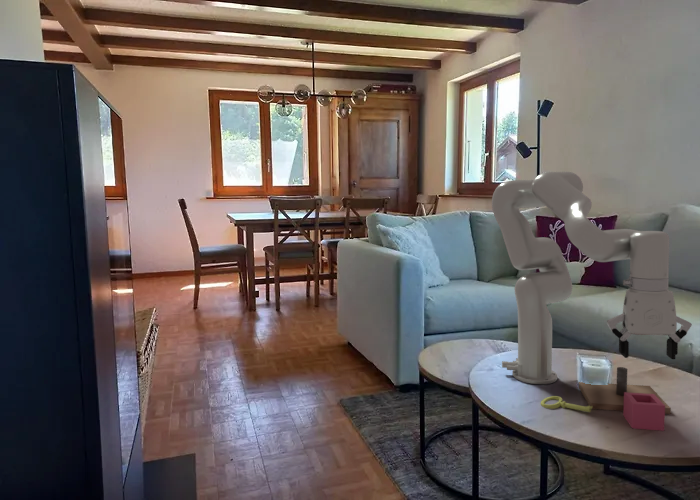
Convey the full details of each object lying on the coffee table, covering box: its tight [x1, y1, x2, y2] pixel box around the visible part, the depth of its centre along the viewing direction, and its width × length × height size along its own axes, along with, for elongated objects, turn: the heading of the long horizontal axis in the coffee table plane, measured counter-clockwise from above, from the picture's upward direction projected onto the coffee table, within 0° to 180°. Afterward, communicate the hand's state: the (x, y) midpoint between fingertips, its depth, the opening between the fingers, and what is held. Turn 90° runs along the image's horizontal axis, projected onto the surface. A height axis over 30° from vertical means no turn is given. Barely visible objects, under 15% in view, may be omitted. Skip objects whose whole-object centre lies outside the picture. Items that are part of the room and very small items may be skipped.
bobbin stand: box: [578, 366, 672, 415], centre depth 126 cm, size 18×14×8 cm
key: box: [540, 395, 593, 413], centre depth 124 cm, size 7×12×2 cm, turn 63°
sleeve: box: [622, 392, 666, 432], centre depth 113 cm, size 7×7×6 cm
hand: (647, 356), depth 111 cm, fingers open, 9 cm apart
